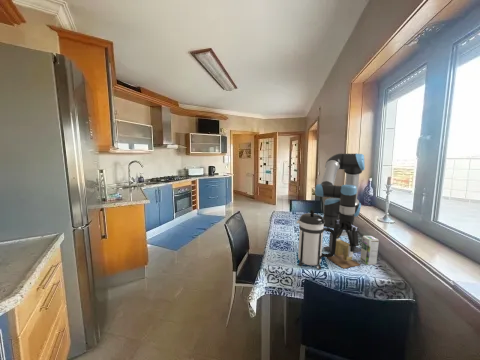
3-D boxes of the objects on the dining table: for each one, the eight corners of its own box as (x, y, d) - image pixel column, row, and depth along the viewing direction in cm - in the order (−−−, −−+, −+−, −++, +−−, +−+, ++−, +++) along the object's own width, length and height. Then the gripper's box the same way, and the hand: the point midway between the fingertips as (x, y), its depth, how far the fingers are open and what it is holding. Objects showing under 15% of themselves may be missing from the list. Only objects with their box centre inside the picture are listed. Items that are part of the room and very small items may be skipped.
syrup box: (359, 259, 117) (361, 235, 115) (369, 259, 117) (371, 235, 115) (366, 265, 111) (369, 239, 109) (376, 264, 111) (379, 239, 110)
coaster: (342, 255, 122) (342, 254, 122) (360, 265, 111) (360, 264, 111) (326, 258, 118) (326, 257, 118) (343, 268, 107) (343, 267, 107)
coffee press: (309, 274, 101) (313, 215, 98) (289, 259, 116) (292, 207, 112) (335, 267, 108) (339, 212, 105) (313, 253, 123) (316, 205, 119)
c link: (340, 253, 118) (341, 239, 117) (351, 259, 111) (353, 245, 110) (334, 254, 117) (335, 240, 116) (346, 260, 110) (347, 246, 109)
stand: (348, 244, 136) (349, 227, 135) (361, 251, 127) (363, 233, 125) (323, 248, 130) (325, 230, 128) (336, 256, 120) (337, 236, 119)
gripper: (327, 209, 120) (324, 245, 122) (358, 219, 100) (354, 263, 103) (337, 208, 122) (334, 244, 125) (369, 218, 102) (365, 261, 105)
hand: (343, 252), depth 114 cm, fingers closed on c link, 8 cm apart
